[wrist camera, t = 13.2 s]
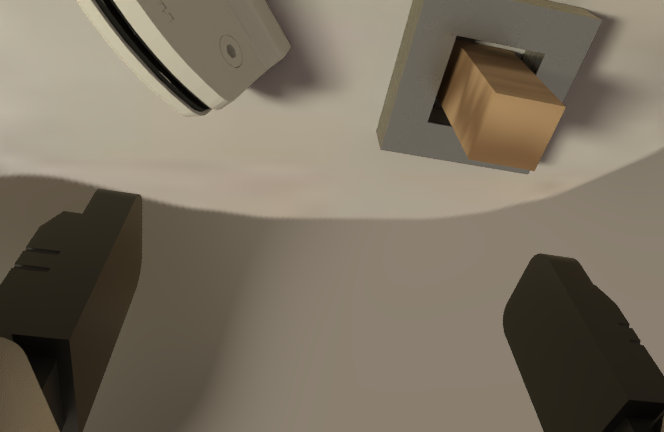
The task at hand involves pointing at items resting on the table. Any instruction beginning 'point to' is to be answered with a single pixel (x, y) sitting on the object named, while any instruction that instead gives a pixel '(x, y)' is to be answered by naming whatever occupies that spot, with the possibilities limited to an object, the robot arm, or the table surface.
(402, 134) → the collar
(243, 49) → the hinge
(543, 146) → the wooden square peg
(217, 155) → the table surface
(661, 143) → the table surface
